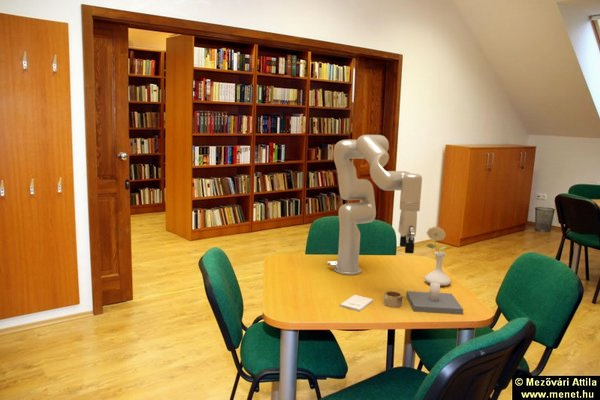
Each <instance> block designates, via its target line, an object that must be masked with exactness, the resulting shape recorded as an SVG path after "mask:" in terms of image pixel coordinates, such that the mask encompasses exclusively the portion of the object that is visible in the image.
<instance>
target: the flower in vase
mask: <svg viewBox="0 0 600 400" xmlns="http://www.w3.org/2000/svg"><path fill="white" fill-rule="evenodd" d="M426 235H427V236H428V238H429V239H430V240H434V244H433V243H428V244H427V245H426V246H425V247H427V248H429V249H434V248H435V249H436V250H437V251H434V255H435V257H436V265H435V268H434V269H433V270H432V271H430V272H429V273H427V274H425V276H424V278H423V279H424V281H425V282H426V283H429V284H430V283H431V282H437V283H440V287H442V286H448V285H451V283H452V280H451V278H450V277H449V275H448V274H447V273H445V272H444V270H443V269H442V268H443V267H442V266H443V260H444V258H445V256H446V255H447V253H446V252H444V251H443V250H444V249H446V248H447V247H448V245H445V246H441V247H439V248H438V247H437V244H436V241H437V242H438V241H443V240H445V238H446V237H447V234H446V231H444V229H443V228H441V227H440V226H439V227H438V226H432V227H429V228H428V230H427V231H426Z"/></svg>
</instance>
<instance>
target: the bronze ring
mask: <svg viewBox="0 0 600 400" xmlns="http://www.w3.org/2000/svg"><path fill="white" fill-rule="evenodd" d="M403 297H404V295H403V293H401V292H399V291H395V290H388V291H384V292H383V305H384V306H386V307H389V308H395V309H396V308H401V307H402V306H403Z"/></svg>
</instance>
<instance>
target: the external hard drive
mask: <svg viewBox="0 0 600 400" xmlns="http://www.w3.org/2000/svg"><path fill="white" fill-rule="evenodd" d="M372 303H374V299H372V298H370V297H365V296H361V295H357V294H353V295H352V296H351V297H349V298H348V299H346V300H345V301H343V302H342V303H340V304H339V307H341V308H343V309H349V310H352V311H356V312H361V311H363V310H364V309H365V308H367V307H368V306H369V305H371V304H372Z"/></svg>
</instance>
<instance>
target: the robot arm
mask: <svg viewBox="0 0 600 400" xmlns="http://www.w3.org/2000/svg"><path fill="white" fill-rule="evenodd" d="M389 143H390V142H389V140H388V139H387V138H386V136H384V135H381V134H363V135H362V134H361V135H360V136H359V137H358V138H357V139H342V140H339V141H338V142H336V144H335V145H334V148H333V151H332V152H333V161H334V164H335V168H336V171H337V181H338V191H339V195H340V198H341V200H345V201H357V200H358V201H359V202H349V203H345V204H342V205H341V206H340V207H339V209H338V220H339V221H338V222H339V231H338V232H339V237H338V250H337V251H338V253H337V258H336V260H334V261H333V260H327V266H330V267H333V271H334V272H336V273H338V274H342V275H346V276H347V275H349V276H353V275H359V274H361V273H362V268H361V267H359V262H360V261H359V258H360V248H361V246H360V244H361V232H360V229H359V227H358V225H360V224H369V223H372V222H374V220H375V218H376V215H377V209H376V201H375V200H376V199H375V191H374V187H373V184H372V182H371V181H370V180H368V179H365V178H358V177H357V175H358V174H357V168H356V166H355V165H354V163H353V162H352V161H351V159H352V160H353V159H356V160H358V159H359V160H360V159H361V160H365V161H366V162H367V163H368V164H369V174H370V178H371V179H372V181H373V182H374V184H375V185H376V186H377V187H378V189H381V191H382V190H383V191H388V192H389V191H390V192H391V191H400V197H399V210H400V214H399V222H398V228H397V230H398V233H399V234H400V237H399V247H401V248H402V247H404V253H405V254H414V252H415V240H416V239H415V237H416V235H417V224H418V212H420V211H421V210H420V209H421V200H422V199H421V197H422V185H423V177H422V175H421V174H419V173H412V172H409V171H405V170H386V169H385V168H384V167H385V166H386V165H387V164H388V162H389V159H390V155H389V153H388V151H389V149H390V145H389Z"/></svg>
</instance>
